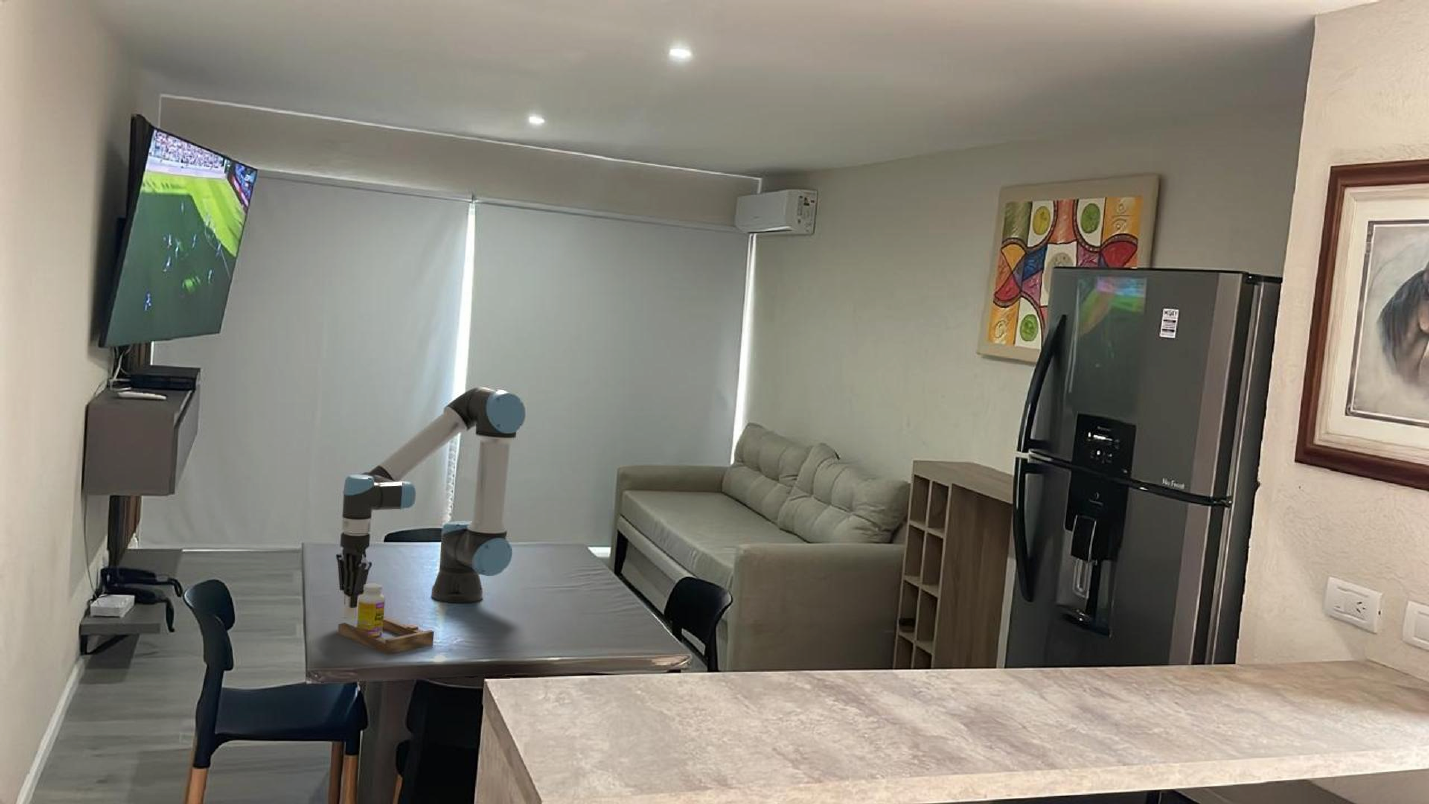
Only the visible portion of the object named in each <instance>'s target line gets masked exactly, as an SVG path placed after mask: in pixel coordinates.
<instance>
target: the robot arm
mask: <svg viewBox="0 0 1429 804" xmlns="http://www.w3.org/2000/svg"><path fill="white" fill-rule="evenodd" d="M525 419H526V407H525V405H524V402H523V401H522V399H521V398H520V397H519V396H518V395H516V394H515V393H512V392H510V391H508V390H503V389H498V388H493V387H489V386H475V387H474V388H471V389H469V390H467V391H465V392H464V393H461V394H460V395H459V396H458V397H456V398H455V399H453V400H452V401H451V402H450V403H448V404H446V406H444V407H443V411H442V413H441V414H440V415H439V416H438V417H436V418H435V419H434V420H433V421H431V422H430V423H429V424H427V425H426V426H425V427H424V428H423V429H421V430H420V431H419V432H417V434H415V435H414V436H412V437H411V438H410V439H409V440H408V441H407V442H406V443H404V444H403V445H402V446H400V447H399V448H398V449H397V450H396V451H394V452H393V453H392V454H390V455H389V456H388V457H386V458H385V459H384V460H383V461H381V462H380V463H379V464H377V466H375V467H374V468H373V469H371V470H370V471H368V470H367V471H362V472H359V473H357V474H350V475H348V476H346V478H345V479H344V486H343V492H342V493H343V498H342V499H343V500H342V504H343V505H342V513H341V515H342V516H341V517H342V519H341V531H342V532H341V534H340V542H339V543H340V544H339V546H340V547H341V548H342V551H341V553H336V555H335V558H336V561H337V570H338V571H337V572H338V583H339V584H338V585H339V590H340V591H342V592H343V594H344V601H343V605H344V609H343V610H344V611H343V619H344V620H347V621H349V620H353V619H356V617H357V608H358V602H359V596H360V595H362V594H363V593H364V585H365V584H367V581H368V576H369V573H370V572H369V571H370V569H371V567H372V565H373V563H372V561H368V560H367V553H366V551H367V549H368V548H369V547H370V541H371V540H370V539H371V534H370V533H371V531H372V512H373V511H382V510H383V511H385V510H405V509H410V508H412V507H413V506H414V504H415V502H416V497H417V495H416V494H417V493H416V488H415V485H414V483H412V482H410V481H403V480H404V478H405V479H406V477H407V476H408V475H410V473H412V472H413V471H415V470H416V469H418V467H420V466H421V465H422V464H423V463H424V462H426V461H427V460H428V459H429V458H430V457H432V456H433V455H434V454H436V453H437V452H438V451H439V450H440V449H442V448H443V447H444V446H445V445H446V444H447V443H449V442H450V441H451V440H453V439H454V438H455V437H456V436H458V435H459V434H460V433H462V434H465V433H467V432H469V430H471V429H472V428H474V427H475V436H476V437H477V438H478V439H479V450H478V451H479V452H478V461H477V470H476V471H477V472H476V482H475V483H476V484H475V492H474V504H473V515H472V520H460V521H457V520H456V521H447V522H445V523H444V524H443V525H442V529H441V534H440V535H441V540H440V552H439V553H440V555H439V566H438V567H439V569H438V571H437V572H438V573H437V575H436V578H435V581H434V584H433V585H432V587H431V593H430V595H431V598H433V599H435V600H437V601H440V602H445V603H451V604H455V603H456V604H464V603H465V604H467V603H475V602H478V601H480V600H482V599H483V587H482V583H481V579H480V575H481V576H486V577H494V576H497V575H499V574H501V573H503V572H504V570H505V569H506V568H508V567H509V565H510V563H511V561H512V558H513V547H512V546H511V544H510V542H509V541H508V540H507V535H508V528H507V527H506V526H505V524H503V522H504V513H505V512H504V511H505V510H504V509H505V503H506V501H505V499H506V498H505V497H506V491H507V490H506V489H507V478H508V469H509V468H508V467H509V459H510V458H509V457H510V448H511V447H510V446H511V442H513V441H514V440H515V439H517V431H519V429H520V428H521V427H522V426H523V424H524V423H525Z"/></svg>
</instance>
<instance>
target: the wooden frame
mask: <svg viewBox="0 0 1429 804" xmlns="http://www.w3.org/2000/svg"><path fill="white" fill-rule="evenodd" d="M337 626H338V627H337V634H338V635H340V636H343V637H346V638H348V639H349V640H353V641H355V642H357V643H360V644H362V645H365V646H367V647H369V648H372V649H374V650H376V651H378V652H381V653H384V654H386V655H391V654H392V655H393V654H396V653H401V652H405V651H410V650H414V649H419V648H424V647H427V646H431V645H434V634H435V631H434V630H431V629H430V630H428V629H427V630H421V629H419V626H418V625H415V624H412V625H408V624H406V623H403V622H401V621H397V620H395V619H393V618H390V617H388V616H386V615H384V618H383V630H386V631H388V632H391V633H393V634H397V635H398V636H396V637H391V638H384V637H381V633H380V634H377V633H372V634H371V633H369V632H366V631H364V630H361V629H359V628H357V626H356V627H355V626H353V625H351V624H348V623H346V622H343V623H338V625H337Z"/></svg>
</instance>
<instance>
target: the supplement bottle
mask: <svg viewBox="0 0 1429 804" xmlns="http://www.w3.org/2000/svg"><path fill="white" fill-rule="evenodd" d="M382 590H383V585H382V584H380V583H375V582H370V583H366V584H365V585H364V593H363V594H361V595H359V596H358V604H357V608H358V609H357V620H356V628H359V629H361V630H364V631H366V632H369V633H371V634H372V633H377V634H380V635H381V634H382V632H383V630H384V629H383V618H384V616H385V605H386V604H385V602H386V601H385V600H386V598H385V595H384V594H382Z"/></svg>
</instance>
